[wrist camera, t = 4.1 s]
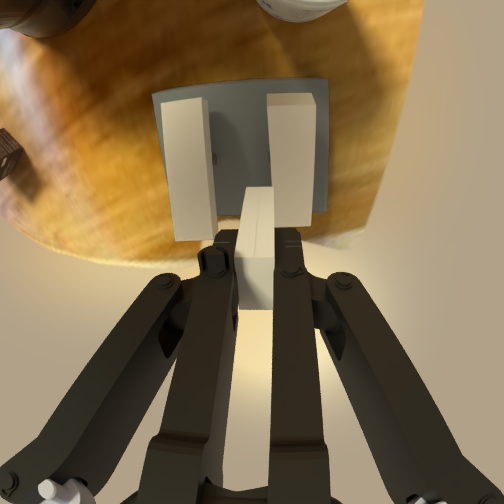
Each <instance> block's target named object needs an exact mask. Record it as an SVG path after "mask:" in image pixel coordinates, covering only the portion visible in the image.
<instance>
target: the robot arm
mask: <svg viewBox="0 0 504 504" xmlns="http://www.w3.org/2000/svg"><path fill="white" fill-rule="evenodd" d="M95 1H96V0H0V29H5V28H10V29H12V30H15V31H17V32H20V33H22V34H24V35H26V36H29V37H34V38H42V37H52V36H56V35H59V34H61V33H63V32H65V31H67V30H69V29H70V28H72V27H73V26H74V25H76V24H77V23H78V22H79V21H80V20H81V19H82V18H83V17H84V16H85V15H86V14H87V13H88V12H89V10H90V9H91V8H92V6H93V5H94V3H95ZM197 256H198V262H199V267H200V275H199V276H197V277H194V278H191V279H186V280H182V281H181V280H180V277H179V276H177V275H176V274H173V273H164V274H160V275H158V276H155V277H154V278H153V279H152V280H151V281H150V282H149V283H148V285H147V286H146V287H145V288H144V289H143V291H142V292H141V293H140V295H139V296H138V297H137V298H136V300H135V301H134V302H133V304H132V305H131V306H130V307H129V309H128V310H127V311H126V313H125V314H124V315H123V316H122V318H121V319H120V320H119V322H118V323H117V324H116V326H115V327H114V328H113V330H112V331H111V332H110V334H109V335H108V336H107V338H106V339H105V340H104V342H103V343H102V344H101V346H100V347H99V348H98V350H97V351H96V353H95V354H94V355H93V357H92V358H91V360H90V361H89V362H88V363H87V365H86V366H85V368H84V369H83V371H82V372H81V373H80V375H79V376H78V378H77V379H76V380H75V382H74V383H73V385H72V386H71V388H70V389H69V390H68V392H67V393H66V395H65V396H64V398H63V399H62V401H61V402H60V404H59V405H58V407H57V408H56V410H55V411H54V413H53V414H52V416H51V417H50V419H49V420H48V422H47V423H46V425H45V426H44V428H43V429H42V431H41V432H40V434H39V436H38V437H37V438H36V439H35V440H33V441H32V442H31V443H30V444H28V445H27V446H26V447H25V448H23V449H22V450H21V451H20V452H18V453H17V454H16V455H15V456H13V457H12V458H11V459H10V460H8V461H7V462H6V463H5V464H3V465H2V466H1V467H0V495H1V497H2V498H3V499H5V500H6V501H8V502H10V503H12V504H96V502H95V499H94V496H96V495H97V494H98V493H99V492H100V490H101V489H102V488H103V487H104V485H105V484H106V483H107V481H108V480H109V478H110V477H111V475H112V474H113V472H114V470H115V468H116V466H117V464H118V463H119V461H120V459H121V457H122V455H123V453H124V452H125V450H126V448H127V446H128V444H129V442H130V441H131V439H132V437H133V435H134V433H135V432H136V430H137V428H138V426H139V424H140V423H141V421H142V419H143V417H144V415H145V413H146V412H147V410H148V408H149V406H150V405H151V403H152V401H153V399H154V397H155V395H156V394H157V392H158V390H159V388H160V386H161V385H162V383H163V381H164V379H165V377H166V376H167V374H168V372H169V370H170V369H171V367H172V365H173V363H174V361H175V360H176V358H177V360H176V364H175V368H174V372H173V376H172V380H171V385H170V389H169V393H168V397H167V401H166V406H165V410H164V414H163V418H162V423H161V427H160V431H159V433H158V434H157V435H156V436H154V437H152V439H151V440H150V442H149V445H148V448H147V452H146V457H145V461H144V466H143V470H142V475H141V480H140V485H139V489H138V491H136V492H135V493H133V494H132V495H131V496H129V497H128V498H127V499H126V500H124V501H123V502H122V503H120V504H342V503H341V502H340V501H338V500H337V499H335V498H333V497H331V494H330V470H329V455H328V448H327V445H326V444H325V442H324V435H323V419H322V405H321V393H320V381H319V369H318V359H317V348H316V339H315V329H314V328H316V329H320V333H321V336H322V338H323V340H324V342H325V344H326V347H327V349H328V351H329V354H330V356H331V358H332V360H333V363H334V365H335V367H336V369H337V372H338V374H339V377H340V379H341V381H342V383H343V386H344V388H345V391H346V393H347V395H348V398H349V400H350V402H351V405H352V407H353V409H354V412H355V414H356V417H357V419H358V421H359V424H360V426H361V429H362V431H363V433H364V436H365V438H366V441H367V443H368V445H369V448H370V450H371V452H372V455H373V458H374V460H375V463H376V465H377V468H378V470H379V473H380V475H381V478H382V480H383V482H384V485H385V487H386V489H387V491H388V494H389V496H390V497H391V499H392V501H393V502H394V504H504V495H503V494H502V492H501V491H500V490H499V489H498V488H497V487H496V486H495V485H494V484H493V483H492V482H491V481H490V480H489V479H487V478H486V477H485V476H484V475H483V474H482V473H481V472H480V471H479V470H478V469H477V468H476V467H475V466H474V465H472V464H471V463H470V462H469V461H468V460H467V459H466V458H465V457H464V456H463V455H462V453H461V451H460V449H459V447H458V445H457V443H456V441H455V439H454V438H453V436H452V433H451V432H450V430H449V428H448V426H447V424H446V422H445V420H444V418H443V416H442V415H441V413H440V411H439V409H438V407H437V405H436V404H435V402H434V400H433V398H432V396H431V395H430V393H429V391H428V389H427V388H426V386H425V384H424V382H423V381H422V379H421V377H420V376H419V374H418V372H417V370H416V369H415V367H414V365H413V364H412V362H411V360H410V358H409V357H408V355H407V354H406V352H405V350H404V349H403V347H402V345H401V344H400V342H399V340H398V339H397V337H396V336H395V334H394V332H393V331H392V329H391V328H390V326H389V325H388V323H387V321H386V320H385V318H384V317H383V315H382V314H381V312H380V310H379V309H378V307H377V306H376V304H375V303H374V301H373V300H372V299H371V297H370V295H369V294H368V292H367V291H366V289H365V288H364V286H363V285H362V283H361V282H360V280H359V279H358V278H357V277H356V276H354V275H352V274H350V273H346V272H336V273H333V274H331V275H330V276H329V277H328V279H322V278H319V277H315V276H313V275H311V274H310V273H309V272H308V271H307V269H306V268H305V265H304V257H303V250H302V242H301V235H300V233H299V232H298V231H297V230H296V229H295V228H274V187H246V191H245V197H244V202H243V208H242V214H241V219H240V225H239V229H231V230H230V229H228V230H227V229H226V230H220V231H219V232H218V233H217V234H216V235H215V239H214V243H213V246H208V247H206V248H203V249H202V250H201V251H200V252H199V253H198V255H197ZM238 304H239V309H241V310H244V309H245V310H273V348H272V393H271V428H270V452H269V477H268V486H265V487H260V488H255V489H250V490H245V491H231V490H228V489H225V488H223V471H222V465H223V455H224V445H225V436H226V427H227V417H228V408H229V399H230V389H231V381H232V371H233V362H234V353H235V345H236V336H237V327H238Z"/></svg>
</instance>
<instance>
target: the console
mask: <svg viewBox="0 0 504 504" xmlns="http://www.w3.org/2000/svg"><path fill="white" fill-rule="evenodd" d="M274 93H312V96H313V98H314V101H315V104H316V133H315V161H314V183H313V201H312V212H327V197H328V166H329V83H328V79H325V78H322V77H286V78H261V79H245V80H233V81H222V82H213V83H205V84H197V85H190V86H183V87H177V88H171V89H165V90H161V91H158V92H156V93H153V94H152V99H153V105H154V112H155V118H156V124H157V130H158V135H159V141H160V147H161V152H162V158H163V163H164V168H165V173H166V178H167V171H166V161H165V150H164V139H163V127H162V114H161V103H165V102H171V101H178V100H185V99H192V98H200V97H202V98H204V99H206V100H208V111H209V126H210V139H211V152H212V165H213V177H214V189H215V200H216V211H217V216H227V215H241V214H242V208H243V202H244V197H245V191H246V187H272V179H271V161H270V145H269V129H268V114H267V94H274ZM167 183H168V180H167Z"/></svg>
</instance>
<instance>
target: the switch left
mask: <svg viewBox="0 0 504 504" xmlns="http://www.w3.org/2000/svg"><path fill="white" fill-rule="evenodd" d="M161 114H162V127H163V139H164V150H165V161H166V171H167V180H168V189H169V197H170V205H171V213H172V221H173V228H174V235H175V241H195V240H213V239H214V238H215V235H216V234H217V232H218V222H217V211H216V200H215V189H214V177H213V165H212V152H211V139H210V126H209V111H208V100H206V99H204V98H202V97H200V98H192V99H185V100H178V101H171V102H165V103H161Z"/></svg>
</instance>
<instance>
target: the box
mask: <svg viewBox="0 0 504 504" xmlns="http://www.w3.org/2000/svg"><path fill="white" fill-rule="evenodd" d="M22 150H23V147H22V146H21V145H20V144H19V143H18V142H17V141H16V140H15V139H14V138H13V137H12V136H11V135H10V134H9V133H8V132H7V130H6V129H5V128H2V129H0V181H1V180H2V179H4V178H5V177H6V176H8V175H9V174H11V173H12V171H13V169H14V167H15V165H16V163H17V161H18V159H19V156H20V154H21V152H22Z"/></svg>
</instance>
